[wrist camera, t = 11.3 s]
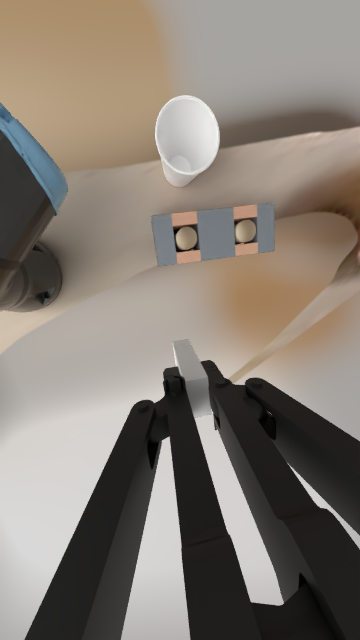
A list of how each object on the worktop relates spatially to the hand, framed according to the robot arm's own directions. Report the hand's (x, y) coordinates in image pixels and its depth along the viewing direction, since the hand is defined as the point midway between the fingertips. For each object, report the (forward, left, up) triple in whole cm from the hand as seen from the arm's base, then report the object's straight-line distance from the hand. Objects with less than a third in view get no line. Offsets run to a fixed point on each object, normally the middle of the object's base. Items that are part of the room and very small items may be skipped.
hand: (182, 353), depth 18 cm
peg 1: (+6, +13, -29) cm, 32 cm away
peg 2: (+18, +13, -29) cm, 37 cm away
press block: (+12, +13, -29) cm, 34 cm away
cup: (+7, +26, -30) cm, 40 cm away
